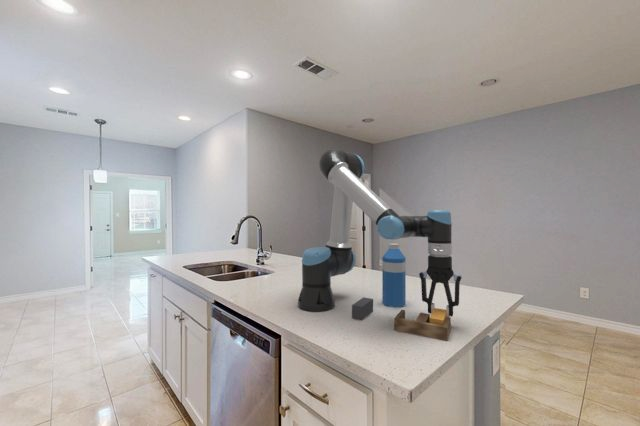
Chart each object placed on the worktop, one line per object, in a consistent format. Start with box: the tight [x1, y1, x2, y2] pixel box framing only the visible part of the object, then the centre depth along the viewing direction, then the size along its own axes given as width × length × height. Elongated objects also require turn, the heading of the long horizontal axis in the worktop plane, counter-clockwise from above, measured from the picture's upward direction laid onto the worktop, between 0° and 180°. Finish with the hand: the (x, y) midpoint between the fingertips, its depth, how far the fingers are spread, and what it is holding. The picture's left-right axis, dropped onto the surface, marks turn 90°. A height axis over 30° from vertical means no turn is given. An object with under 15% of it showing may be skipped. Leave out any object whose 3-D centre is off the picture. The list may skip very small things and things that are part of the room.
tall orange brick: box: [430, 307, 446, 325], centre depth 94 cm, size 4×11×5 cm, turn 150°
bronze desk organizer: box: [393, 309, 452, 342], centre depth 93 cm, size 16×10×4 cm, turn 60°
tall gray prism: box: [351, 297, 374, 321], centre depth 107 cm, size 4×11×5 cm, turn 150°
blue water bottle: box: [381, 243, 407, 308], centre depth 120 cm, size 9×9×25 cm
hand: (440, 324), depth 97 cm, fingers open, 4 cm apart
